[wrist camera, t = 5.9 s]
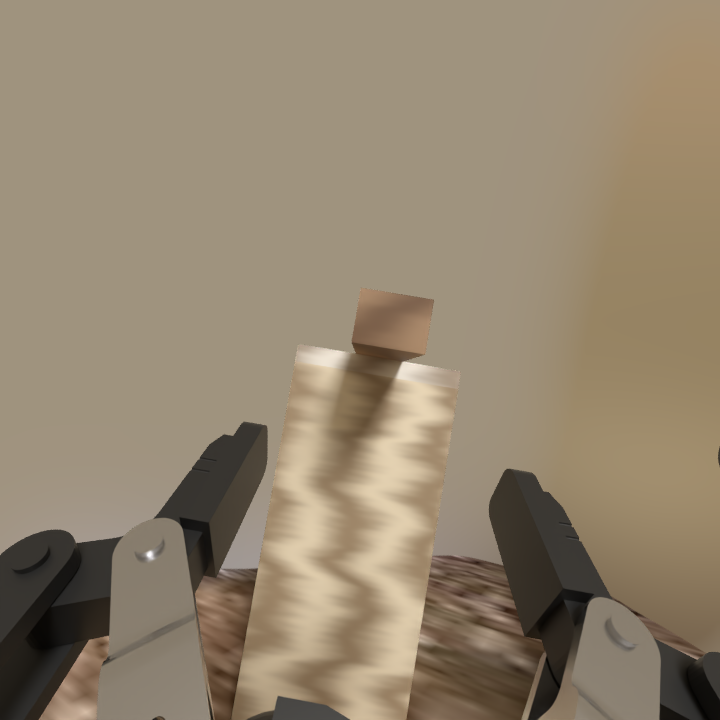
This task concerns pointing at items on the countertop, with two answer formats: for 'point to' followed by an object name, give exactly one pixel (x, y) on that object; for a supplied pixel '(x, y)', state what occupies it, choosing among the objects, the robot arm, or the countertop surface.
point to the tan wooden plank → (391, 325)
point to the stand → (348, 536)
